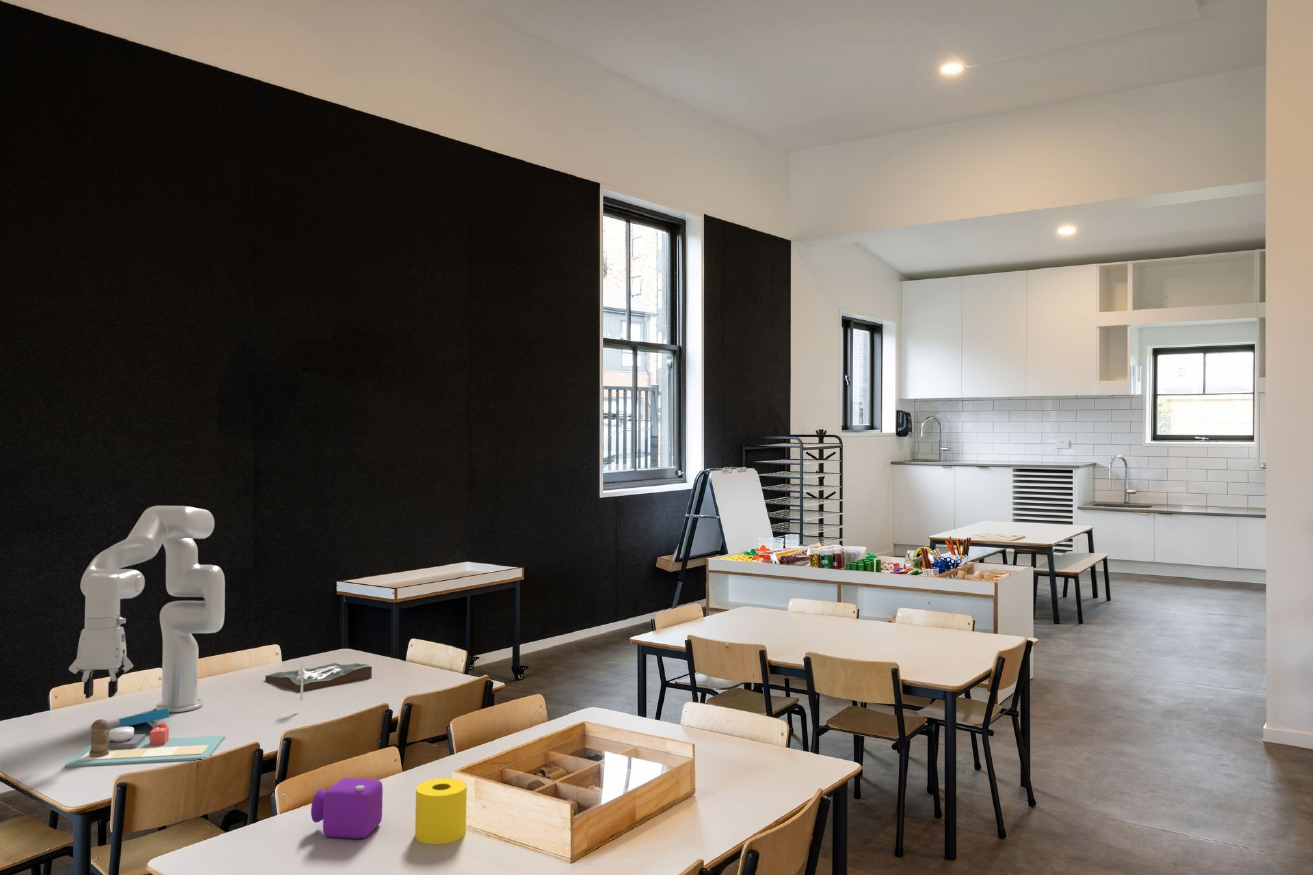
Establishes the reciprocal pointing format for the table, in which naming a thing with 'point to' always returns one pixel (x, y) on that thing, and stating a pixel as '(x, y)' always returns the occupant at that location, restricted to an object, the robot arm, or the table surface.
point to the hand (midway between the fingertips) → (100, 695)
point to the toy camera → (349, 808)
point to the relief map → (320, 676)
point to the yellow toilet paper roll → (440, 811)
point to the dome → (121, 734)
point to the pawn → (99, 738)
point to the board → (150, 749)
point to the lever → (146, 719)
